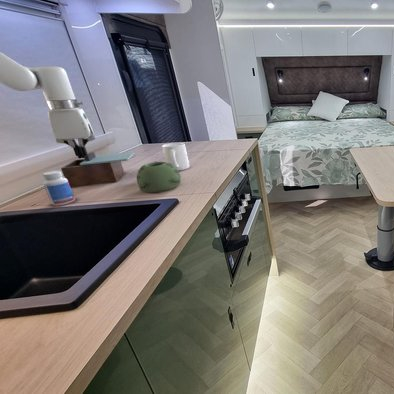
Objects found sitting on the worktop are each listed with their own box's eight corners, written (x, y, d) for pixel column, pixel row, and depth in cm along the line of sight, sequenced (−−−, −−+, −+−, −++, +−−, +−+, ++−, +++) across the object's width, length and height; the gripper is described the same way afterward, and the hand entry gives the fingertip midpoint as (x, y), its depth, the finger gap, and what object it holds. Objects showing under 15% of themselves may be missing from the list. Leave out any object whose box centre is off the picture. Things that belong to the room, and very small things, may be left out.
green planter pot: (184, 189, 100) (178, 165, 97) (139, 197, 94) (131, 171, 90) (179, 177, 113) (174, 155, 109) (140, 183, 106) (133, 160, 103)
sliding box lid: (80, 165, 102) (77, 158, 101) (91, 157, 113) (89, 151, 112) (127, 160, 108) (125, 154, 107) (134, 153, 118) (132, 147, 117)
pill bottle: (80, 200, 92) (68, 170, 89) (60, 206, 87) (47, 176, 84) (67, 198, 94) (55, 169, 90) (47, 204, 89) (34, 174, 85)
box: (68, 187, 103) (60, 168, 100) (81, 177, 114) (74, 159, 111) (116, 181, 108) (110, 163, 106) (124, 172, 119) (118, 155, 116)
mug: (188, 172, 119) (182, 147, 115) (164, 175, 116) (158, 149, 112) (190, 165, 129) (185, 142, 125) (169, 167, 126) (163, 143, 122)
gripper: (93, 103, 106) (110, 153, 113) (39, 105, 100) (60, 157, 107) (87, 105, 100) (104, 157, 107) (29, 107, 94) (52, 162, 101)
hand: (82, 157), depth 107 cm, fingers closed
